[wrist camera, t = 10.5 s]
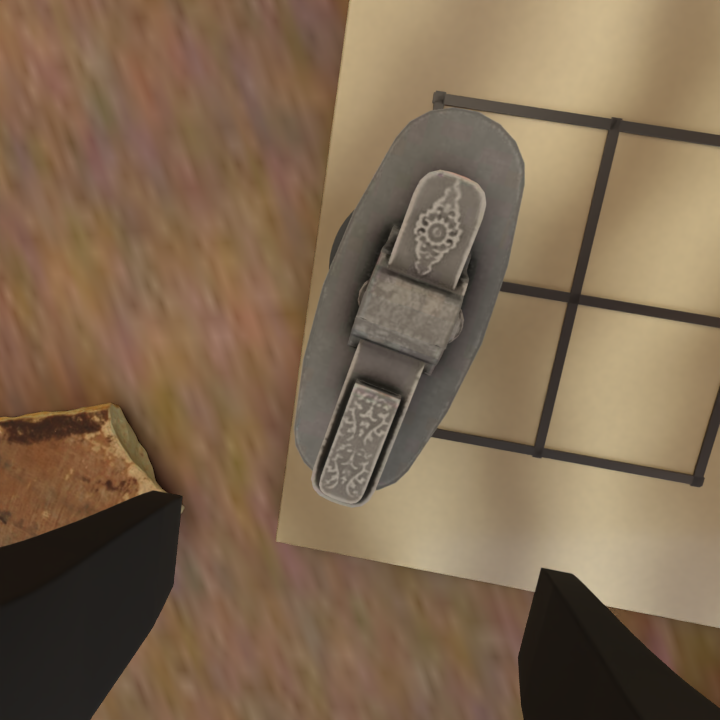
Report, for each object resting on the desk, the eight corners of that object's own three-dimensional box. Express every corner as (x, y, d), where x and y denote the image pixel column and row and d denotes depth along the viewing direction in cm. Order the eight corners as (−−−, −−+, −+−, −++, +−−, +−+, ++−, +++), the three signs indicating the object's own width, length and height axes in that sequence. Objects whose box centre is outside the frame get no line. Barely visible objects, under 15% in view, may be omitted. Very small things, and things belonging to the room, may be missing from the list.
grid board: (947, -19, 19) (978, -32, 18) (733, 616, 24) (747, 636, 23) (367, -97, 20) (363, -113, 19) (281, 528, 25) (274, 543, 24)
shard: (-133, 424, 26) (-174, 441, 24) (-26, 270, 24) (-62, 276, 22) (95, 608, 26) (72, 638, 25) (216, 474, 25) (199, 496, 23)
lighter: (407, 118, 20) (382, 55, 10) (517, 159, 20) (596, 133, 10) (319, 370, 22) (229, 512, 12) (418, 407, 22) (406, 580, 12)
